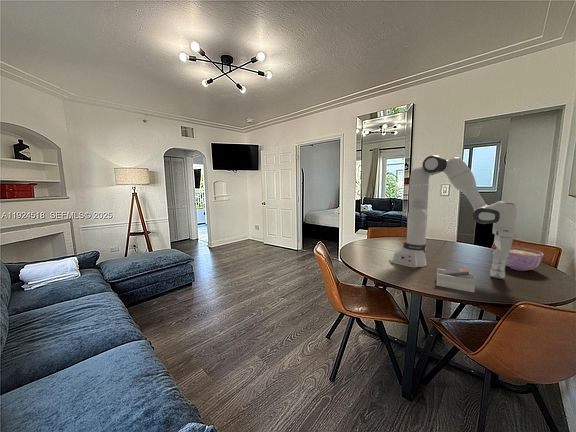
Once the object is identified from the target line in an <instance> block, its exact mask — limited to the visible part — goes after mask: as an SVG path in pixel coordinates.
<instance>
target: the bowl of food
mask: <svg viewBox="0 0 576 432" xmlns="http://www.w3.org/2000/svg"><path fill="white" fill-rule="evenodd" d="M508 254H509V255H508V258H507V261H506V265H505V267H510V268H509V269H511V270H514V271H520V272H526V271H531V270H535V269H536V268H538V266H539V265H540V263H541V262H542V259H543V257H544V253H543V252H542V251H539V250H535V249H530V248H527V247H526V248H525V247H517V246H511V250H510V251H509V252H508Z"/></svg>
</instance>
